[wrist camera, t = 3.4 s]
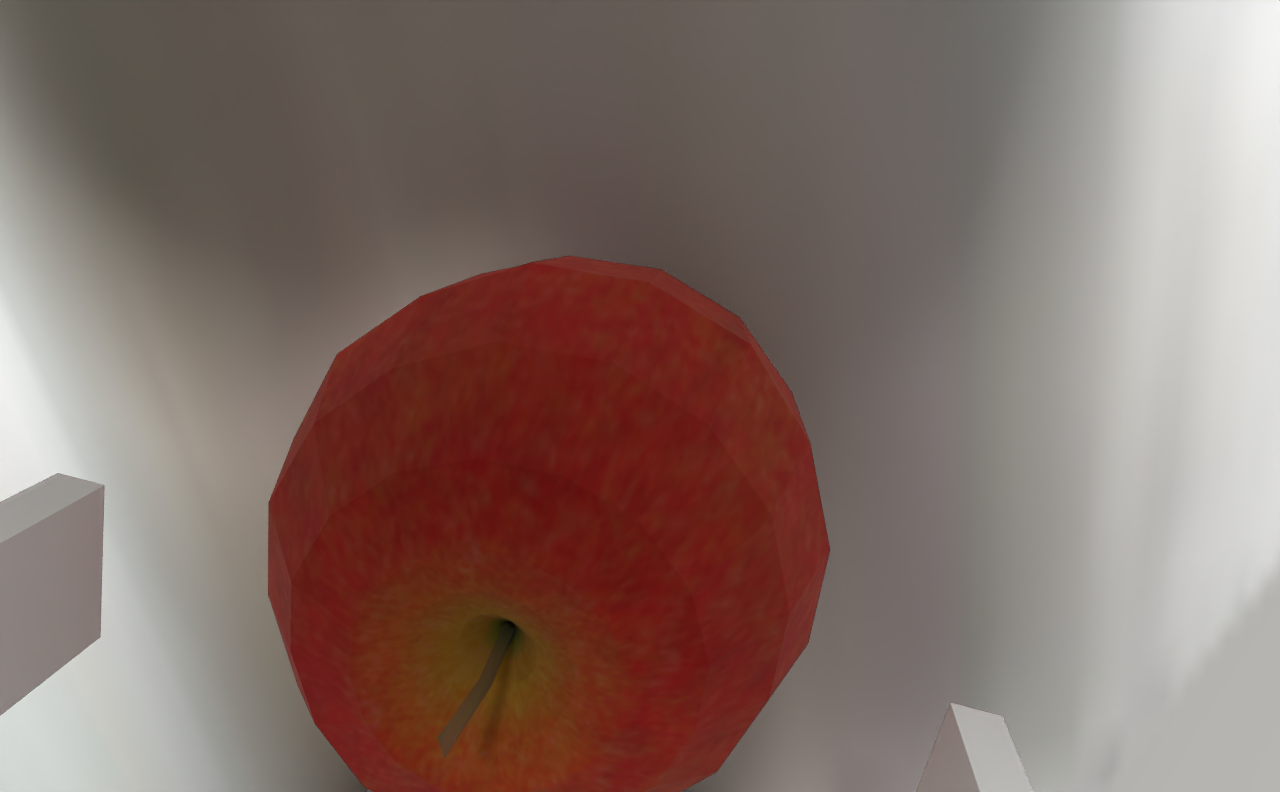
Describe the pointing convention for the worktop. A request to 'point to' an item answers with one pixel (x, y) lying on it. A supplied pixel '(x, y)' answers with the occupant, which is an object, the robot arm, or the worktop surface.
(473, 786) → the apple
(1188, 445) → the worktop surface
